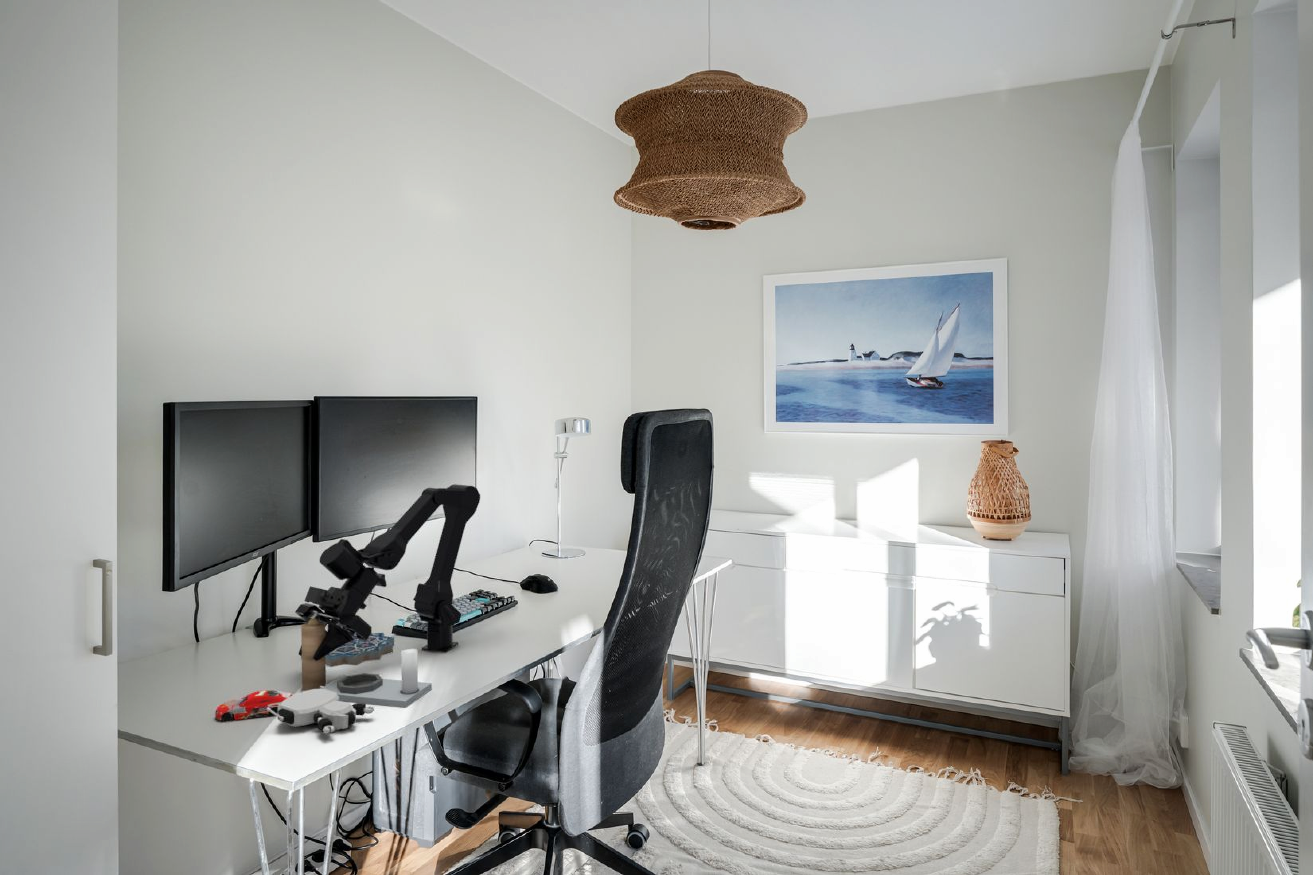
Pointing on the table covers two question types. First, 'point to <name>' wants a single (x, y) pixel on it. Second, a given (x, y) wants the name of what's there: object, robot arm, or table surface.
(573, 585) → the table surface
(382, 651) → the decorative tile
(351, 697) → the plate
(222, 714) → the race car
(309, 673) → the brown tall cylinder
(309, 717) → the robot toy
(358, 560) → the robot arm
